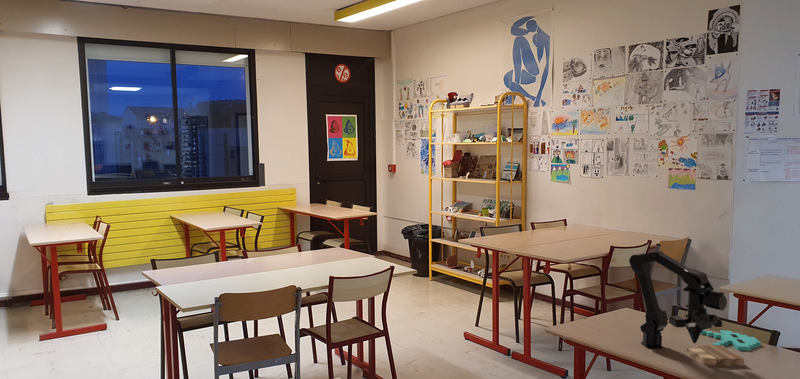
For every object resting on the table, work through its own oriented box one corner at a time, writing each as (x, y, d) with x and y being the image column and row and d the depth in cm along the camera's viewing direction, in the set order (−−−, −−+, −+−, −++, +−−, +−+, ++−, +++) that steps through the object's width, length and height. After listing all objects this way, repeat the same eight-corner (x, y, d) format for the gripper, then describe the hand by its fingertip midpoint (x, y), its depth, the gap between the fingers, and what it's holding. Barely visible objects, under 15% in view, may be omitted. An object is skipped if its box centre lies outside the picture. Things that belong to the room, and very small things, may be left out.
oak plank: (686, 354, 224) (687, 347, 224) (698, 354, 225) (699, 347, 224) (704, 366, 212) (704, 359, 212) (716, 366, 213) (717, 358, 212)
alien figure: (714, 349, 230) (767, 353, 226) (714, 344, 230) (767, 348, 226) (698, 333, 250) (747, 336, 246) (699, 328, 250) (747, 331, 246)
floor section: (718, 366, 212) (719, 358, 211) (697, 352, 226) (698, 345, 225) (743, 366, 212) (744, 358, 212) (721, 352, 226) (721, 345, 226)
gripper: (684, 310, 208) (682, 350, 209) (732, 309, 209) (730, 349, 210) (668, 302, 219) (667, 340, 221) (714, 301, 220) (712, 339, 221)
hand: (694, 342), depth 218 cm, fingers closed
